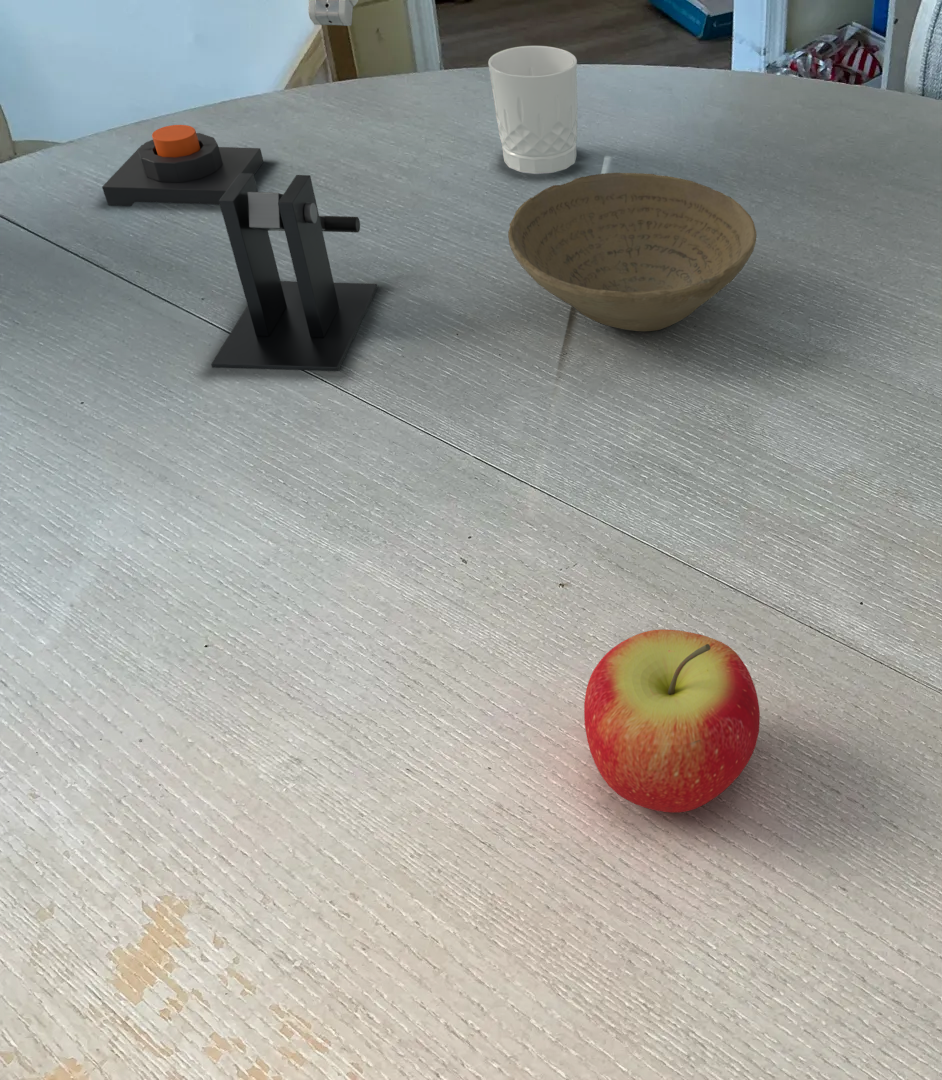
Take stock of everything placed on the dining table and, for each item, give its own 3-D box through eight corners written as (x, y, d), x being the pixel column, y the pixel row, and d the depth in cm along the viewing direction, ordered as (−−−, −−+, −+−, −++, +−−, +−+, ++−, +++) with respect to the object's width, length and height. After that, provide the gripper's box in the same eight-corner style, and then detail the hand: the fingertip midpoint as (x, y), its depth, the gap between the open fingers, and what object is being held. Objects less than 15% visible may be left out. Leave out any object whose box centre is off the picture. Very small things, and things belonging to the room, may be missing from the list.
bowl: (785, 364, 87) (791, 267, 82) (539, 399, 83) (529, 300, 78) (715, 249, 101) (718, 159, 95) (500, 274, 96) (490, 182, 91)
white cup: (486, 179, 110) (474, 70, 103) (517, 146, 116) (507, 41, 109) (566, 189, 109) (559, 80, 102) (593, 155, 114) (588, 50, 108)
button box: (109, 210, 104) (94, 166, 101) (148, 167, 110) (135, 125, 108) (234, 214, 104) (222, 170, 101) (266, 170, 110) (255, 128, 108)
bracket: (266, 293, 93) (229, 149, 86) (379, 297, 93) (352, 153, 86) (215, 377, 84) (167, 225, 77) (340, 381, 84) (305, 229, 77)
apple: (731, 865, 55) (738, 728, 49) (562, 822, 57) (546, 683, 50) (773, 733, 61) (784, 595, 54) (619, 697, 63) (611, 559, 56)
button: (151, 159, 103) (145, 140, 102) (166, 143, 106) (160, 123, 105) (192, 160, 103) (186, 141, 102) (206, 144, 106) (201, 125, 105)
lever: (284, 238, 93) (283, 207, 92) (360, 240, 93) (360, 209, 92) (220, 226, 81) (219, 190, 81) (307, 229, 81) (306, 193, 81)
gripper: (191, -177, 91) (181, -3, 90) (455, -168, 91) (447, 5, 90) (225, -126, 97) (216, 37, 97) (472, -118, 97) (465, 45, 97)
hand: (330, 22), depth 93 cm, fingers closed
